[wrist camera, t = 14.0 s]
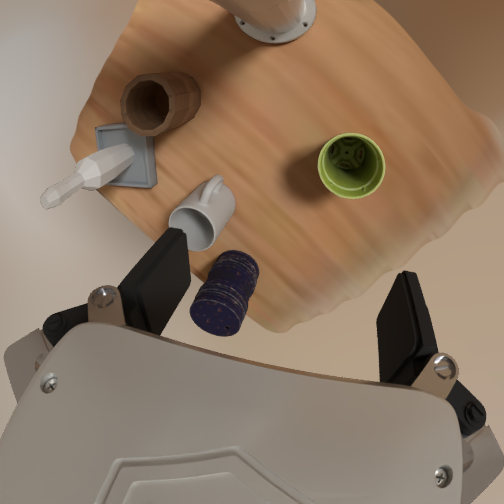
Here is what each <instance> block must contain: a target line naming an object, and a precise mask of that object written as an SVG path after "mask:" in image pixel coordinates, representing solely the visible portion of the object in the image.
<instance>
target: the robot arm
mask: <svg viewBox="0 0 504 504" xmlns="http://www.w3.org/2000/svg"><path fill="white" fill-rule="evenodd" d="M210 1H212V2H214V3H216V4H218V5H219V6H221V7H222V8H224V9H226V10H227V11H229V12H230V13H232V14H233V15H234V17H235V20H236V22H237V24H238V26H239V27H240V28H241V30H242V31H243V32H244V33H246V34H247V35H248V36H250V37H252V38H254V39H256V40H258V41H261V42H266V43H274V44H276V43H285V42H290V41H292V40H295V39H297V38H299V37H301V36H302V35H304V34H305V33H306V32H307V31H308V30H309V29H310V28H311V26H312V25H313V23H314V20H315V18H316V4H315V1H314V0H210ZM243 23H245V24H244V25H242V24H243ZM305 24H306V25H307V27H304V25H305ZM272 38H275V40H272ZM190 282H191V275H190V265H189V255H188V245H187V235H186V233H184V232H183V230H182V229H179V228H173V227H169V228H168V229H167V230H166V231H165V233H164V234H163V235H162V236H161V237H160V238H159V239H158V240H157V241H156V242H155V244H154V245H153V246H152V247H151V248H150V249H149V250H148V251H147V253H146V254H145V255H144V256H143V257H142V258H141V259H140V261H139V262H138V263H137V264H136V265H135V266H134V268H133V269H132V270H131V271H130V272H129V274H128V275H127V276H126V277H125V278H124V279H123V281H122V282H121V283H120V285H119V286H118V287H117V288H116V287H114V286H110V285H106V286H101V287H98V288H97V289H95V290H93V291H92V293H91V294H90V296H89V297H88V303H86V304H83V305H80V306H77V307H74V308H71V309H67V310H64V311H61V312H58V313H55V314H52V315H51V316H50V317H48V318H47V319H46V321H45V322H44V324H43V329H42V330H40V329H39V328H38V329H36V330H34V331H33V332H31V333H29V334H28V335H26V336H25V337H23V338H21V339H20V340H18V341H16V342H15V343H13V344H12V345H10V346H9V347H8V348H7V350H6V351H5V354H4V362H5V366H6V369H7V373H8V376H9V380H10V383H11V386H12V389H13V392H14V395H15V398H16V400H17V406H16V408H15V410H14V412H13V414H12V416H11V418H10V420H9V422H8V424H7V426H6V428H5V430H4V432H3V434H2V437H1V439H0V504H470V503H472V502H473V500H475V499H476V498H477V497H478V496H479V495H480V494H481V493H482V492H483V491H484V490H485V489H486V488H487V487H488V486H489V485H490V484H491V483H492V482H493V480H494V479H495V478H496V477H497V476H498V475H499V474H500V472H501V471H502V470H503V467H504V455H503V453H502V451H501V449H500V447H499V444H498V442H497V440H496V438H495V436H494V434H493V433H492V431H491V429H490V427H489V426H487V427H486V426H485V421H486V411H485V408H484V406H483V405H482V404H481V403H480V402H479V401H478V400H477V399H476V398H475V397H474V396H473V395H472V394H471V393H470V392H469V391H468V390H467V389H466V388H465V387H464V386H463V385H462V384H461V383H460V382H459V381H458V380H457V378H458V375H459V368H458V365H457V363H456V361H455V360H454V359H453V358H452V357H451V356H450V355H448V354H446V353H439V352H438V348H437V344H436V339H435V335H434V330H433V326H432V322H431V318H430V315H429V311H428V308H427V306H426V304H425V300H424V297H423V293H422V290H421V287H420V284H419V281H418V277H417V274H416V273H414V272H409V271H403V272H402V273H399V274H398V275H397V277H396V279H395V281H394V284H393V286H392V288H391V290H390V292H389V294H388V296H387V298H386V300H385V302H384V304H383V307H382V309H381V310H380V313H379V314H378V317H377V322H376V324H377V337H378V350H379V351H378V352H379V373H380V382H373V381H365V380H358V379H351V378H343V377H336V376H329V375H322V374H317V373H310V372H305V371H300V370H294V369H289V368H284V367H279V366H274V365H269V364H264V363H259V362H255V361H250V360H246V359H242V358H238V357H234V356H230V355H226V354H222V353H218V352H214V351H211V350H207V349H203V348H200V347H196V346H192V345H189V344H186V343H182V342H179V341H175V340H172V339H169V338H165V337H162V336H160V335H161V333H162V331H163V329H164V328H165V326H166V324H167V323H168V321H169V319H170V318H171V316H172V314H173V312H174V311H175V309H176V308H177V306H178V304H179V302H180V301H181V299H182V298H183V296H184V294H185V292H186V291H187V289H188V288H189V286H190Z"/></svg>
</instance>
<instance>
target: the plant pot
mask: <svg viewBox="0 0 504 504" xmlns="http://www.w3.org/2000/svg"><path fill="white" fill-rule="evenodd" d="M345 137H350V138H352V140H350V139H344V138H345ZM332 146H334V151H333V154H332V151H331V150H332ZM346 151H348V152H349V153H348V154H346V153H345V152H346ZM360 151H362V157H361V158H359V156H360ZM341 164H345V165H349V166H348V167H346V166H345V167H344V166H341ZM318 172H319V176H320V178H321V180H322V182H323V184H324V185H325V186H326V187H327V188H328V189H329V190H330V191H331V192H332V193H334V194H336V195H337V196H340V197H343V198H348V199H358V198H363V197H365V196H368V195H370V194H371V193H373V192H374V191H375V190H376V189H377V188H378V187H379V186H380V184H381V182H382V180H383V178H384V174H385V160H384V157H383V154H382V152H381V150H380V148H379V147H378V146H377V144H376V143H375V142H374V141H372V140H371V139H370V138H368V137H366V136H364V135H361V134H357V133H344V134H340V135H338V136H335V137H333V138H332V139H330V140H329V141H328V142H327V143H326V144H325V145H324V147H323V148H322V150H321V152H320V154H319V158H318Z"/></svg>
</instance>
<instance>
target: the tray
mask: <svg viewBox="0 0 504 504" xmlns="http://www.w3.org/2000/svg"><path fill="white" fill-rule="evenodd" d="M95 133H96V141H97V148H98V151H100V150H102V149H105V148H109V147H112V146H116V145H120V144H124V143H126V144H128V145H130V146H132V148H133V151H134V154H135V156H134V161H133V163H132V164H131V165H129V166H128V167H127V168H126V169H125V170H123V171H122V172H121V173H120V174H119V175H118V176H117V177H115V178H114V179H113V180H111V181H110V182H108V183H106V184H105V185H116V186H131V187H144V188H152V187H153V186H154V185H156V184H157V174H156V164H155V153H154V141H153V136H140V135H138V134H136V133H135V132H133V131H131V130H130V129H129V128H128V126H127V124H126V123H115V124H106V125H101V126H98V127H95Z"/></svg>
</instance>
